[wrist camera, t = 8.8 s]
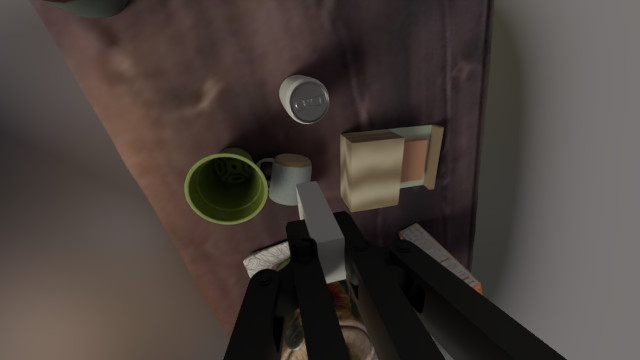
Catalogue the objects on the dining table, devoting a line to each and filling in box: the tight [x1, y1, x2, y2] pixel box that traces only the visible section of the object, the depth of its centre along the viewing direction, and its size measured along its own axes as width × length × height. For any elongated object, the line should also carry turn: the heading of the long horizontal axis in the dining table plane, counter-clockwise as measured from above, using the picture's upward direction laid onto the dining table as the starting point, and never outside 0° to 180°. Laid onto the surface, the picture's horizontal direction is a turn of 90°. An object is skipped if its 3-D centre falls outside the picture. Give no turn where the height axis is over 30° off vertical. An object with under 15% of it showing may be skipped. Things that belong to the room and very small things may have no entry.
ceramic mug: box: [256, 154, 312, 205], centre depth 47 cm, size 11×8×8 cm
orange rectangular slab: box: [400, 137, 428, 183], centre depth 55 cm, size 9×6×2 cm, turn 2°
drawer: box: [388, 124, 444, 189], centre depth 55 cm, size 14×11×3 cm
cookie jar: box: [243, 241, 375, 360], centre depth 49 cm, size 25×25×32 cm
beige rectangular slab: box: [340, 129, 405, 212], centre depth 51 cm, size 14×10×7 cm
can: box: [279, 75, 329, 124], centre depth 40 cm, size 6×6×12 cm
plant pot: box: [185, 148, 268, 224], centre depth 43 cm, size 12×12×11 cm
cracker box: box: [398, 223, 482, 295], centre depth 58 cm, size 14×6×21 cm, turn 22°
